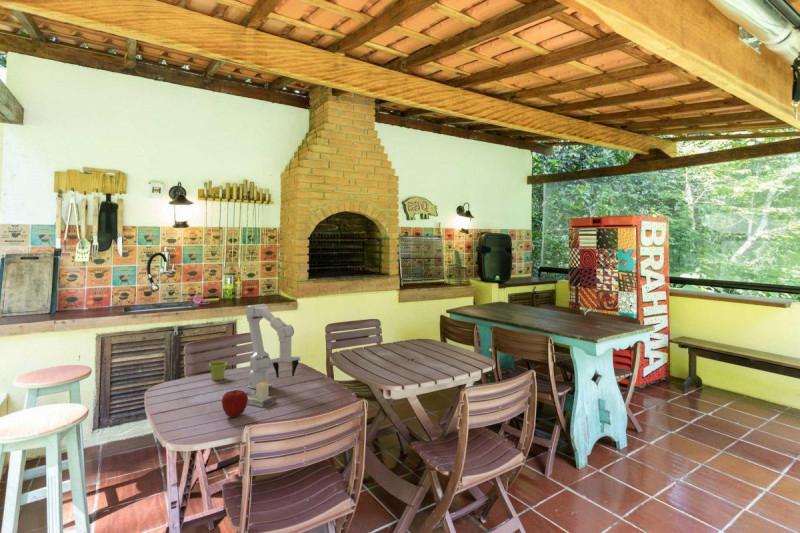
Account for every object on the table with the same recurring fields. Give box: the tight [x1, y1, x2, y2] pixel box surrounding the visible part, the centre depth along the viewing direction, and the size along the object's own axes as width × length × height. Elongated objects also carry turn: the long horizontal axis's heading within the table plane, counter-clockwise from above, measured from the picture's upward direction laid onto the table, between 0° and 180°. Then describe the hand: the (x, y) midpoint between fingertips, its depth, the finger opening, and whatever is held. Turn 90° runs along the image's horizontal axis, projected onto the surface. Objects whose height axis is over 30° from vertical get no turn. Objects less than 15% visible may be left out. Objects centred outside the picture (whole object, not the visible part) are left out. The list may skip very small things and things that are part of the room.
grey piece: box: [247, 392, 277, 409], centre depth 201 cm, size 15×8×3 cm, turn 66°
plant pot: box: [208, 361, 228, 381], centre depth 235 cm, size 9×9×9 cm
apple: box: [221, 389, 249, 418], centre depth 184 cm, size 11×11×12 cm
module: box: [255, 382, 269, 396], centre depth 210 cm, size 4×4×6 cm
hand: (285, 376), depth 211 cm, fingers open, 7 cm apart
